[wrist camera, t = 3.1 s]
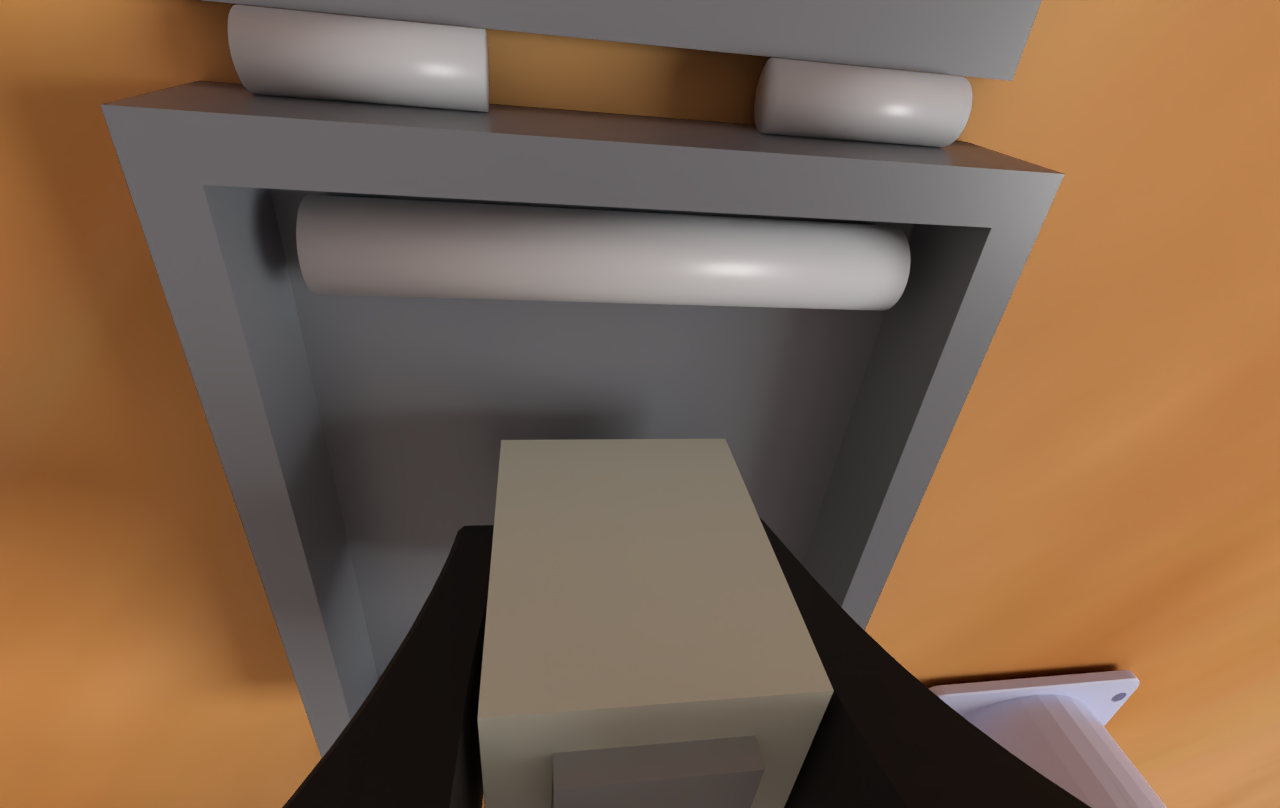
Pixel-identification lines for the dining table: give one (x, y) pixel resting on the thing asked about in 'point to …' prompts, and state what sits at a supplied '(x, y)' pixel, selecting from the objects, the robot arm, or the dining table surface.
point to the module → (639, 634)
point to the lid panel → (663, 16)
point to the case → (554, 326)
